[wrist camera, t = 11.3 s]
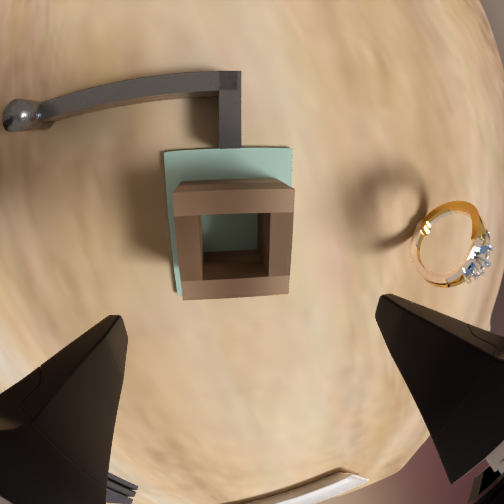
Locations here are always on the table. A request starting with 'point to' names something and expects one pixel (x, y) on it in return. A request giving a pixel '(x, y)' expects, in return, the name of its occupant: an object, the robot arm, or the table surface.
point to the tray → (316, 490)
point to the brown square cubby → (241, 261)
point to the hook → (137, 101)
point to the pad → (223, 167)
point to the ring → (475, 256)
